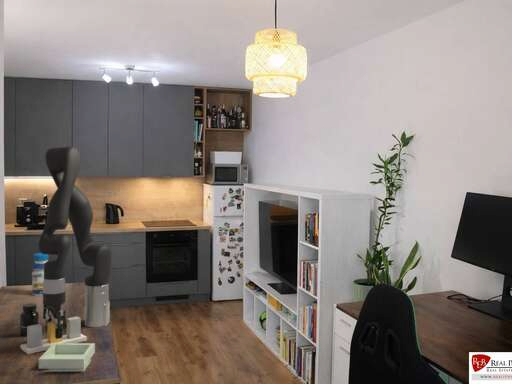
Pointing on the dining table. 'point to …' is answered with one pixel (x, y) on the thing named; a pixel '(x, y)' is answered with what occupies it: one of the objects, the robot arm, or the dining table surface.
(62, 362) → the sage tray
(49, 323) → the block
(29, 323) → the supplement bottle
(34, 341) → the block
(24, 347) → the block
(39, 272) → the blue vitamin bottle
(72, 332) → the block
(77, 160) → the robot arm
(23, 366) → the dining table surface
